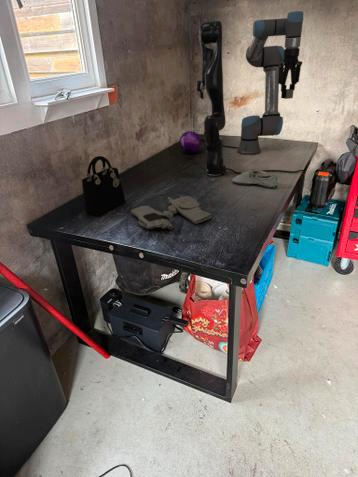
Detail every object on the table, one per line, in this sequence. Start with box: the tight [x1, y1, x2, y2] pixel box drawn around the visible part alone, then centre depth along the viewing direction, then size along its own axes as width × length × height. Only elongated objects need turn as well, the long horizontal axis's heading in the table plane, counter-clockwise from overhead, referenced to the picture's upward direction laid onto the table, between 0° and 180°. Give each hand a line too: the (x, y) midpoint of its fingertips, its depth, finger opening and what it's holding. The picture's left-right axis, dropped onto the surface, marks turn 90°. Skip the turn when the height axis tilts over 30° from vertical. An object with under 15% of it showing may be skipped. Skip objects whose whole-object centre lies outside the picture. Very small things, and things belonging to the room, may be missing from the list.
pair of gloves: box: [130, 195, 212, 230], centre depth 145 cm, size 30×26×5 cm
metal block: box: [283, 88, 294, 100], centre depth 178 cm, size 4×4×4 cm
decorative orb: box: [178, 130, 202, 154], centre depth 230 cm, size 15×15×15 cm
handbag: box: [81, 155, 126, 217], centre depth 153 cm, size 21×9×25 cm, turn 148°
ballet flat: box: [231, 169, 279, 189], centre depth 173 cm, size 8×24×8 cm, turn 61°
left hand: (208, 98), depth 203 cm, fingers open, 8 cm apart
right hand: (286, 97), depth 179 cm, fingers closed on metal block, 4 cm apart
